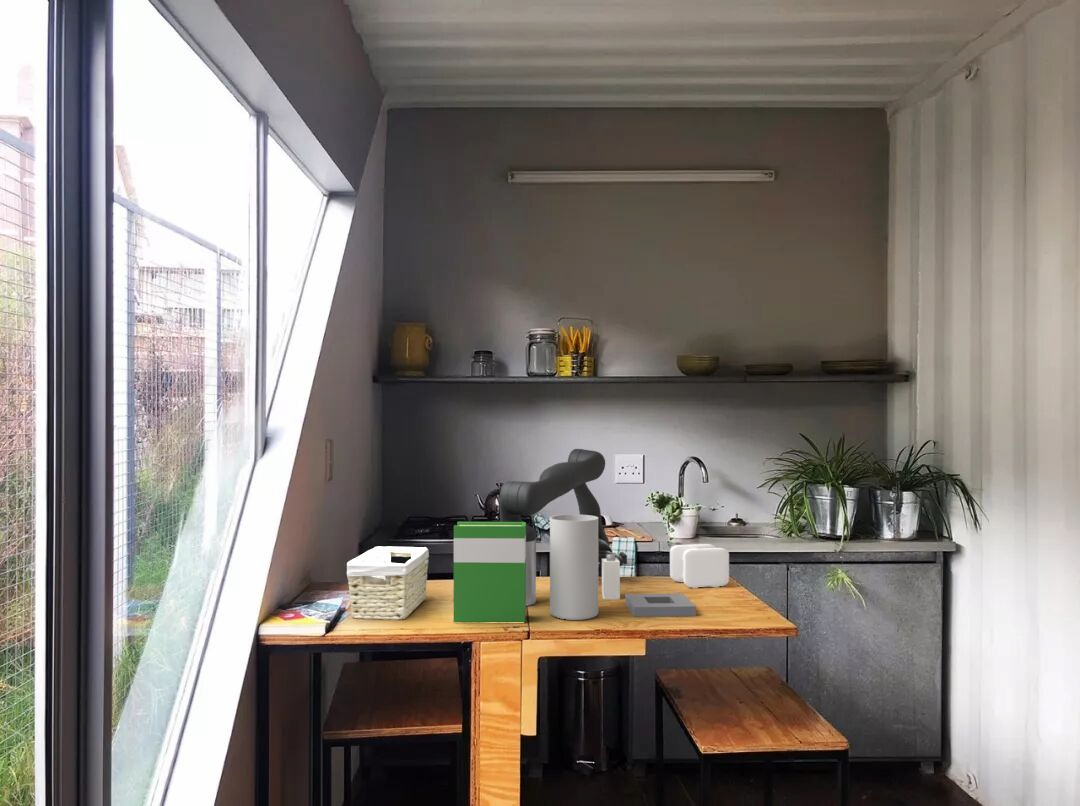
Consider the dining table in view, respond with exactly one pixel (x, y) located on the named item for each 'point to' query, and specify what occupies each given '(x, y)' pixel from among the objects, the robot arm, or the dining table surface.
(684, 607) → the socket plate
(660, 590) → the dining table surface
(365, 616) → the storage basket
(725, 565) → the white napkin holder
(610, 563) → the white block with knob
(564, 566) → the cylinder vase
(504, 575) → the green cereal box
